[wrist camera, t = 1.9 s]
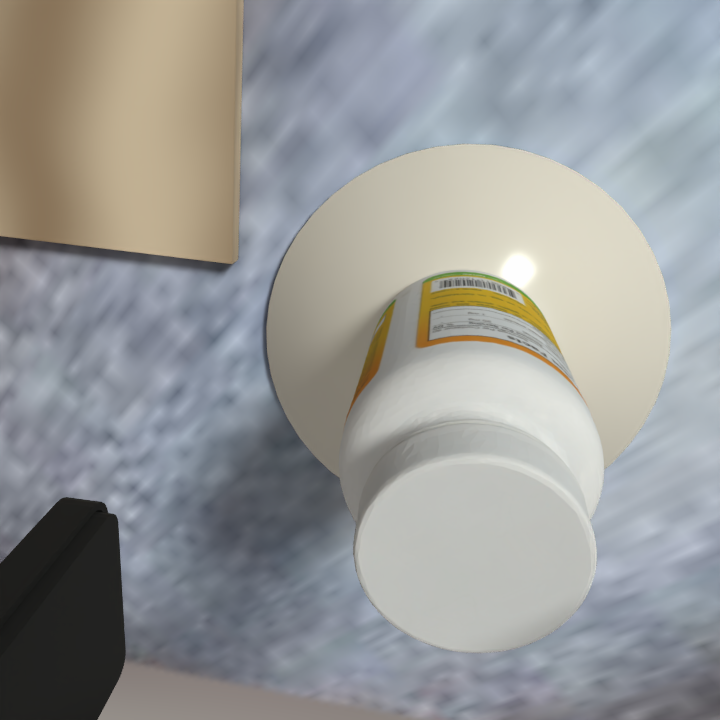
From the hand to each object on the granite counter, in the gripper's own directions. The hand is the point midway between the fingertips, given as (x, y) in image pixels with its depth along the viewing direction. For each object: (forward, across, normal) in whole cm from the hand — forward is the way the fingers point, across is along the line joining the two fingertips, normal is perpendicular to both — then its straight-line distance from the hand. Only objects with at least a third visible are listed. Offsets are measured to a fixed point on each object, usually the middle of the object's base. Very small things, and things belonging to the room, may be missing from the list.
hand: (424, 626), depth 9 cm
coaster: (+11, -1, 0) cm, 11 cm away
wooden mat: (+12, +11, -7) cm, 17 cm away
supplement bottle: (+11, -1, 0) cm, 11 cm away
